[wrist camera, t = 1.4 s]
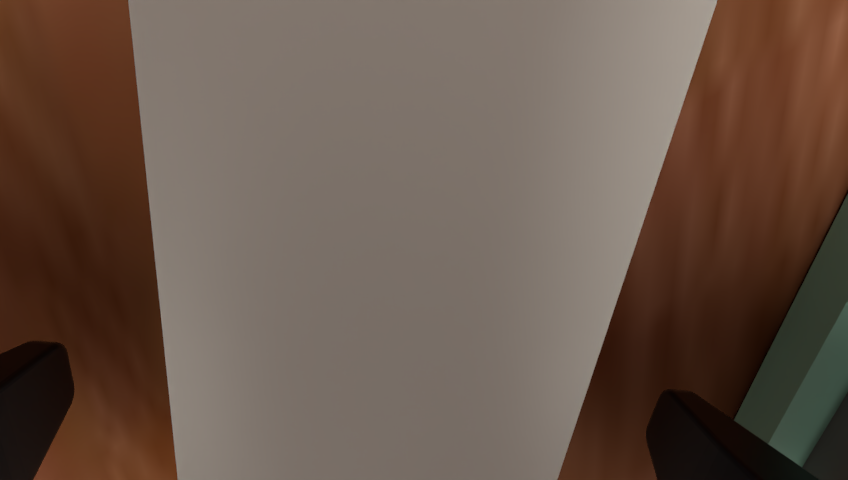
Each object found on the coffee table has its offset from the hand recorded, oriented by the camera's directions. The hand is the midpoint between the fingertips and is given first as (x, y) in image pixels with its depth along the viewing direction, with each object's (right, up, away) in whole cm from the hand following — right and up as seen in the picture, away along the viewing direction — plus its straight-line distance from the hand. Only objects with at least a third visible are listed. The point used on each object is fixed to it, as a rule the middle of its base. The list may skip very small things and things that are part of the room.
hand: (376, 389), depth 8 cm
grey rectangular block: (0, +1, +2) cm, 2 cm away
